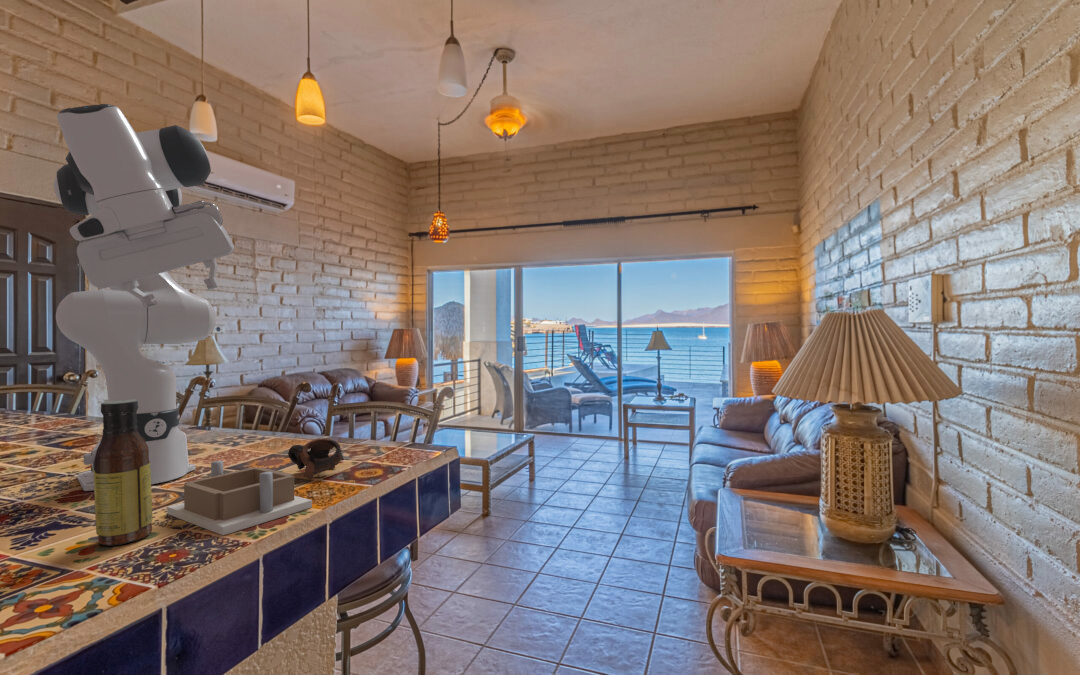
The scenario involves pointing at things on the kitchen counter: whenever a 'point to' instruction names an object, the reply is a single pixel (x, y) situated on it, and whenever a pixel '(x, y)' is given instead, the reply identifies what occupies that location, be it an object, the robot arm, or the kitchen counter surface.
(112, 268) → the robot arm
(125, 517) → the sauce bottle
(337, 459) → the pottery mug
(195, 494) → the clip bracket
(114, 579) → the kitchen counter surface
